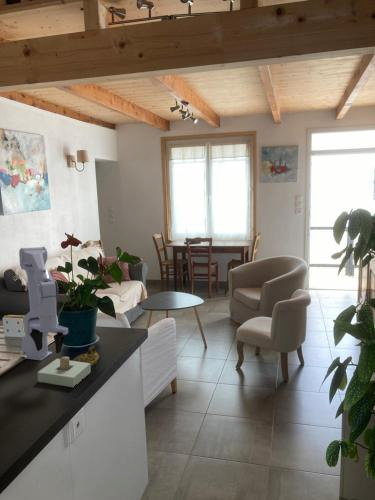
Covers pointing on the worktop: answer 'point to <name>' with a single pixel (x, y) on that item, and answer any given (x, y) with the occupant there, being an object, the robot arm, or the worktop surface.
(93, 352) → the yellow lumpy piece
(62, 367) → the peg
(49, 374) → the socket board
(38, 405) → the worktop surface
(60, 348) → the robot arm
